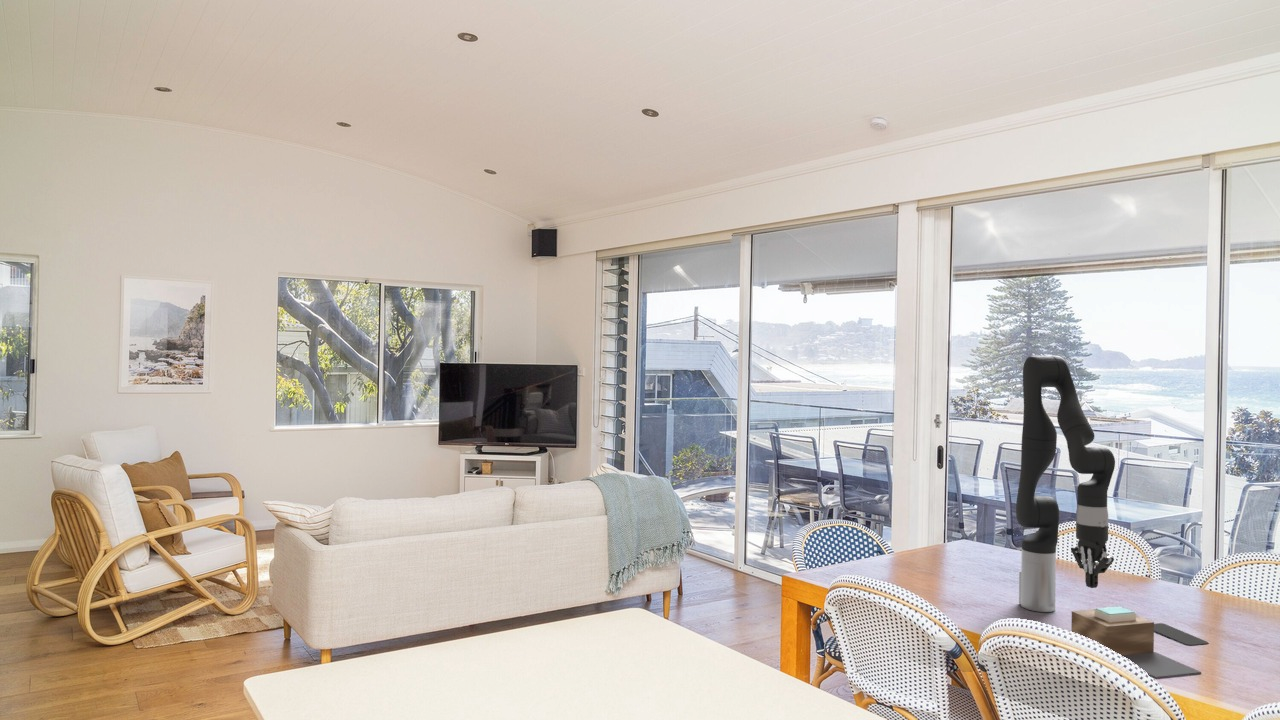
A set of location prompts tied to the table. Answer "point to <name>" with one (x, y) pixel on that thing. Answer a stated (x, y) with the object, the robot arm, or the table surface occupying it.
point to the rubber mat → (1160, 665)
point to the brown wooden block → (1116, 632)
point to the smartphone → (1177, 635)
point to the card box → (1115, 614)
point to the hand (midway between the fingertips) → (1091, 587)
